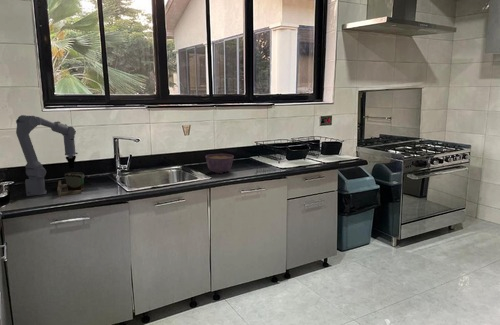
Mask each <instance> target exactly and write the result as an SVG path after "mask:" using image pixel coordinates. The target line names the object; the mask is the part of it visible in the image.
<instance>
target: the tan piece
mask: <svg viewBox="0 0 500 325" xmlns="http://www.w3.org/2000/svg"><path fill="white" fill-rule="evenodd" d="M62 189H67V184H66V183H65V184H62V180H61V179H60V180H58V183H57V189H56V192H57V198H61V196H71V195H79V194H82V192H81V190H76V191H68V190H67V191H62Z"/></svg>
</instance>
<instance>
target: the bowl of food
mask: <svg viewBox="0 0 500 325" xmlns="http://www.w3.org/2000/svg"><path fill="white" fill-rule="evenodd" d="M204 156H205V161H206V165H207V168H208V169H209V171H211V172H213V173H214V172H215V173H214V174H219V173H220V174H224V173H223V172H225V173H227V172H229V171H230V170H231V168H232V165H233V162H234V157H235V156H234V155H233V154H229V153H213V154H206V155H204Z"/></svg>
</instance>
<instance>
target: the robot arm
mask: <svg viewBox="0 0 500 325" xmlns="http://www.w3.org/2000/svg"><path fill="white" fill-rule="evenodd" d="M15 124H16V131H15V134H16V137H17V139H18V142H19V145H20V147H21V150H22V152H23V155H24V158H25V161H26V164H25V165H24V166H25V174H26V176H27V177H28V178H26V179H25V181H24V182H25V183H24V184H25V193H26V197H32V196H42V195H47V192H48V191H47V189H46V184H45V177H46V175H47V170H46V169H45V167H44V166H43V163H41V162H40V161H39V160H38V157H37V154H36V151H35V148H34V145H33V141H32V138H31V137H30V136H31V135H30V133H31V131H33V130H34V129H35V128H37V126H43V127H47V128H49V129H50V130H51V131H52V132H56V133H58V134H60V135H62V136H63V145H64V155H65V159H66V161H67V163H68V167H69V169H74V168H75V161H76V158H77V155H79V153H78V152H76V143H75V142H76V141H75V136H76V133H77V132H76V129H75V127H73V126H68V124H65V123H61V121H59V120H58V121H54V122H52V121H50V120H48V119H45V118H43V117H40V116H35V115H25V114H23V115H22V114H21V115H19V116H18V117H17V119H16V120H15Z"/></svg>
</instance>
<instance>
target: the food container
mask: <svg viewBox="0 0 500 325" xmlns="http://www.w3.org/2000/svg"><path fill="white" fill-rule="evenodd" d="M63 177H64V178H65V184H67V188H66V189H67V191H76V190H81V193H82V192H83V191H84V187H85V186H84V180H85V179H84V178H85V174H84V172H79V171H76V172H75V171H74V172H67V173H64V176H63Z"/></svg>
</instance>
